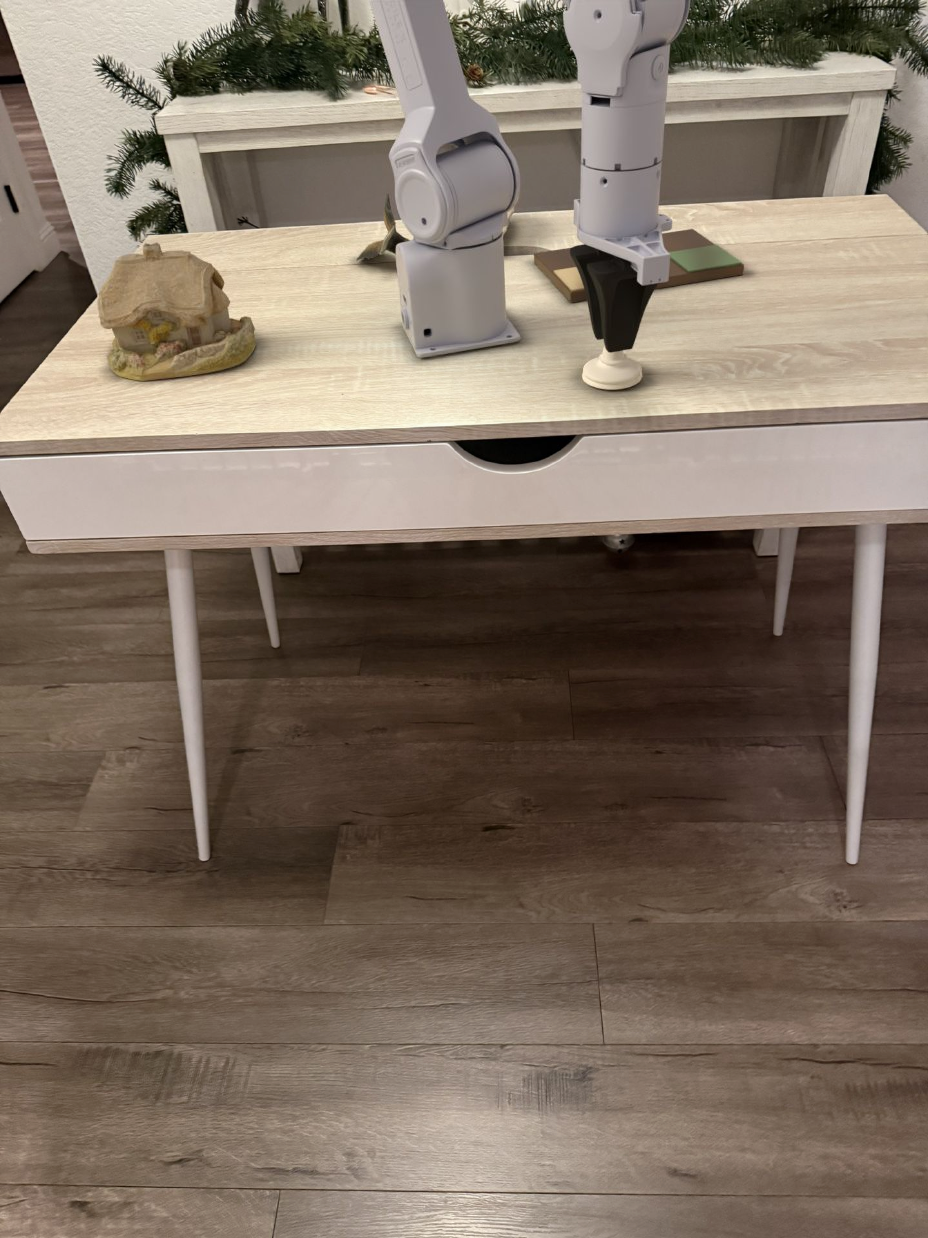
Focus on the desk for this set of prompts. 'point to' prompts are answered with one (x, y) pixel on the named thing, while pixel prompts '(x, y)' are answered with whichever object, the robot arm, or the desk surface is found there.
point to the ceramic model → (170, 317)
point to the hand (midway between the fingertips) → (613, 342)
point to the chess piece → (612, 371)
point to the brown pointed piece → (389, 240)
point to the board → (687, 265)
